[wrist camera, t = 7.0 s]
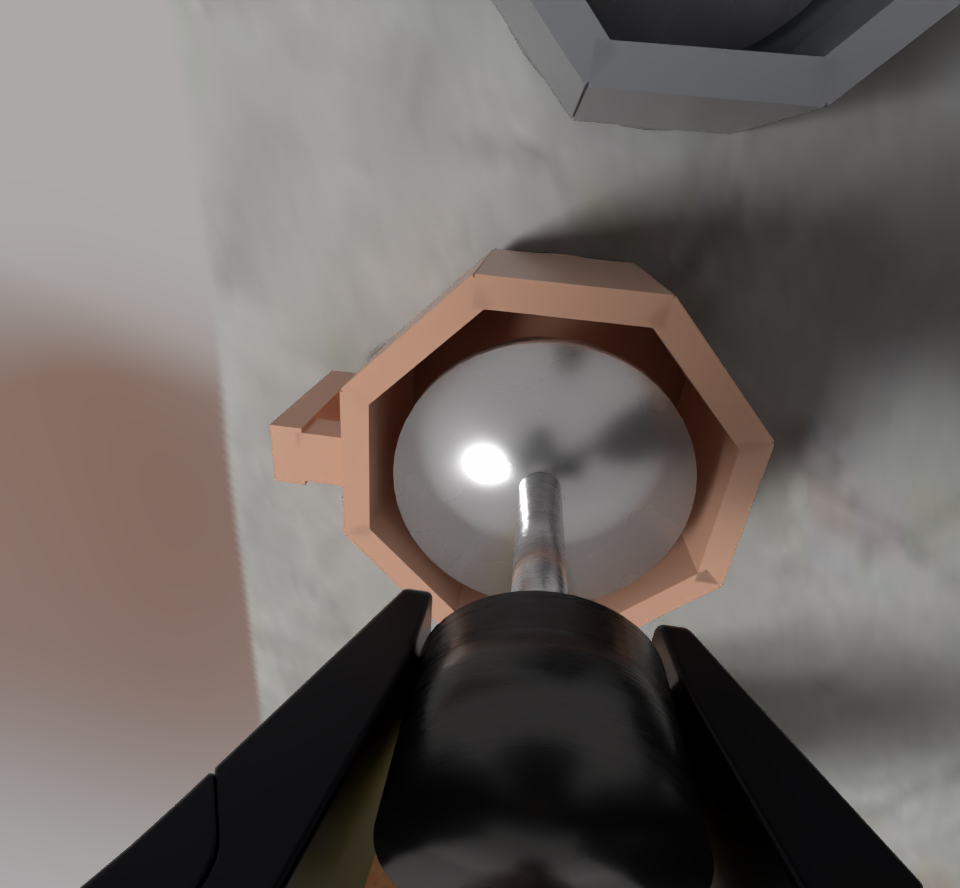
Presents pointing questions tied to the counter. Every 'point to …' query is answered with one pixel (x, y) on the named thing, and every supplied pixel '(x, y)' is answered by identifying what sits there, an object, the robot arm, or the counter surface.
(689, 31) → the coffee tamper
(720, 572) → the bowl
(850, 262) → the counter surface
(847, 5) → the grey octagonal cup
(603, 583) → the black-handled metal tamper
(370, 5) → the counter surface
